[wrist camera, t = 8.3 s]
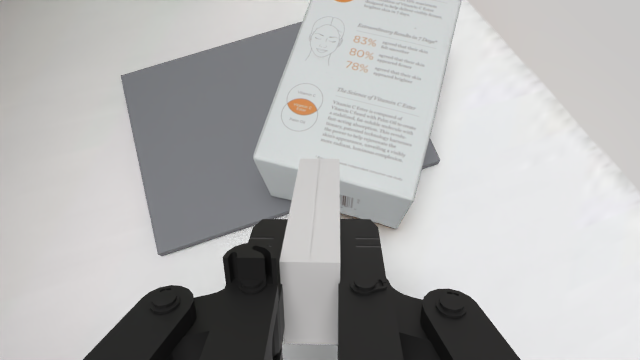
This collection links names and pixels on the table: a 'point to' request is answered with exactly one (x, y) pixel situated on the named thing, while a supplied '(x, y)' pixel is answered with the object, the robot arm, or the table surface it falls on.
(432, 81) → the small box
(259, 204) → the grey rubber mat
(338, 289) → the robot arm
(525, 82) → the table surface
